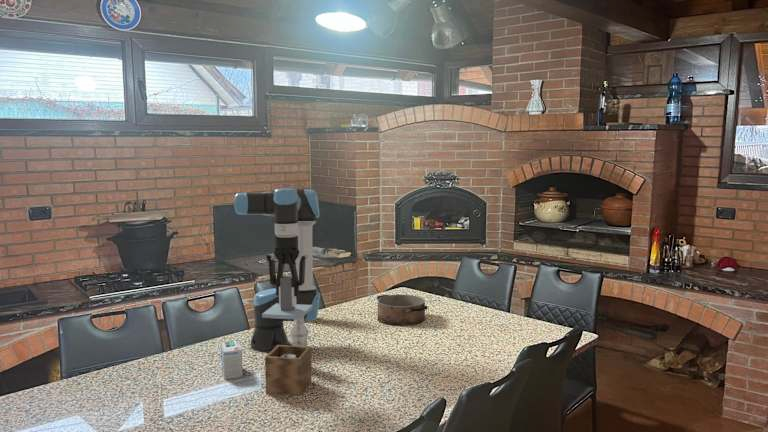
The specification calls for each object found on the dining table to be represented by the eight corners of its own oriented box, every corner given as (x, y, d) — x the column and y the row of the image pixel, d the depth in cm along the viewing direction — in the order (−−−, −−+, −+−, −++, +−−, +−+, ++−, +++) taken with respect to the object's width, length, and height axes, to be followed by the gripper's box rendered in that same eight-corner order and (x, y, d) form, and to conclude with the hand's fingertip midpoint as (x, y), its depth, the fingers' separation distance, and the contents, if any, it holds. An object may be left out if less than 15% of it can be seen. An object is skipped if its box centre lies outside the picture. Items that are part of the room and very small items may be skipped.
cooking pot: (363, 319, 272) (363, 298, 271) (397, 311, 286) (397, 290, 285) (405, 335, 249) (405, 311, 248) (440, 325, 264) (440, 302, 263)
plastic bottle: (292, 374, 205) (291, 320, 203) (290, 367, 211) (289, 315, 209) (310, 372, 207) (309, 319, 204) (307, 365, 213) (306, 314, 211)
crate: (266, 396, 186) (265, 357, 185) (278, 382, 198) (277, 344, 196) (301, 399, 184) (300, 359, 183) (311, 384, 196) (310, 346, 195)
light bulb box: (221, 370, 209) (220, 342, 207) (239, 368, 211) (238, 340, 210) (223, 381, 199) (222, 351, 198) (243, 378, 201) (242, 349, 200)
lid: (262, 319, 183) (261, 280, 181) (276, 309, 196) (275, 272, 194) (300, 321, 181) (300, 282, 179) (312, 310, 194) (311, 273, 192)
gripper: (257, 236, 183) (259, 307, 186) (307, 238, 180) (308, 309, 183) (266, 233, 190) (267, 301, 193) (314, 234, 188) (315, 303, 190)
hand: (287, 305), depth 188 cm, fingers closed on lid, 4 cm apart
